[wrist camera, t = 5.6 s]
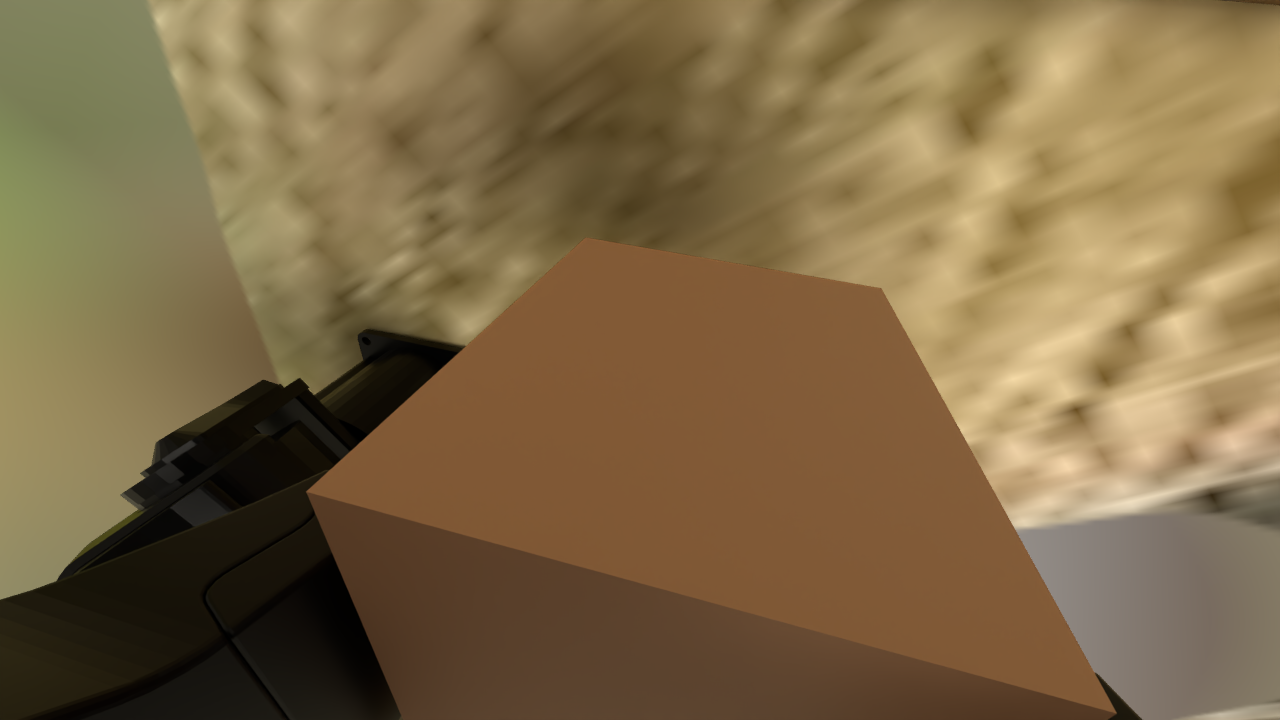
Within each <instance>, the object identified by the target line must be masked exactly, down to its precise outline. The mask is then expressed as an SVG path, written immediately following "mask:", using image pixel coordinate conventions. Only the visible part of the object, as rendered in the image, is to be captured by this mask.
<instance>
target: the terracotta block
mask: <svg viewBox="0 0 1280 720" xmlns="http://www.w3.org/2000/svg"><path fill="white" fill-rule="evenodd" d="M306 493H307V495H308V497H309V500H310V502H311V504H312V507H313V509H314V511H315V514H316V516H317V518H318V521H319V523H320V525H321V528H322V530H323V532H324V535H325V537H326V540H327V542H328V544H329V547H330V549H331V551H332V554H333V556H334V558H335V561H336V563H337V565H338V568H339V570H340V572H341V575H342V577H343V580H344V582H345V584H346V587H347V589H348V591H349V594H350V596H351V598H352V601H353V603H354V605H355V608H356V610H357V612H358V615H359V617H360V619H361V622H362V624H363V627H364V629H365V631H366V634H367V636H368V638H369V641H370V643H371V645H372V648H373V650H374V652H375V655H376V657H377V659H378V662H379V664H380V667H381V669H382V671H383V674H384V676H385V678H386V681H387V683H388V685H389V688H390V690H391V692H392V695H393V697H394V699H395V702H396V704H397V706H398V709H399V711H400V714H401V716H402V718H403V720H1108V719H1109V718H1111V717H1112V716H1114V715H1116V714H1117V713H1116V711H1115V709H1114V707H1113V705H1112V704H1111V702H1110V700H1109V698H1108V696H1107V695H1106V693H1105V691H1104V689H1103V687H1102V686H1101V684H1100V682H1099V680H1098V678H1097V677H1096V675H1095V673H1094V671H1093V670H1092V668H1091V666H1090V664H1089V662H1088V660H1087V659H1086V657H1085V655H1084V653H1083V651H1082V650H1081V648H1080V646H1079V644H1078V642H1077V641H1076V639H1075V637H1074V635H1073V633H1072V631H1071V630H1070V628H1069V626H1068V624H1067V623H1066V621H1065V619H1064V617H1063V615H1062V614H1061V612H1060V610H1059V608H1058V606H1057V604H1056V603H1055V601H1054V599H1053V597H1052V596H1051V594H1050V592H1049V590H1048V588H1047V586H1046V585H1045V583H1044V581H1043V579H1042V578H1041V576H1040V574H1039V572H1038V570H1037V568H1036V567H1035V565H1034V563H1033V561H1032V559H1031V558H1030V556H1029V554H1028V552H1027V550H1026V549H1025V547H1024V545H1023V543H1022V541H1021V540H1020V538H1019V536H1018V534H1017V532H1016V530H1015V529H1014V527H1013V525H1012V523H1011V521H1010V520H1009V518H1008V516H1007V514H1006V512H1005V511H1004V509H1003V507H1002V505H1001V503H1000V502H999V500H998V498H997V496H996V494H995V493H994V491H993V489H992V487H991V485H990V484H989V482H988V480H987V478H986V476H985V475H984V473H983V471H982V469H981V467H980V466H979V464H978V462H977V460H976V458H975V457H974V455H973V453H972V451H971V449H970V447H969V446H968V444H967V442H966V440H965V438H964V437H963V435H962V433H961V431H960V429H959V428H958V426H957V424H956V422H955V420H954V419H953V417H952V415H951V413H950V411H949V410H948V408H947V406H946V404H945V402H944V401H943V399H942V397H941V395H940V393H939V392H938V390H937V388H936V386H935V384H934V383H933V381H932V379H931V377H930V375H929V374H928V372H927V370H926V368H925V366H924V365H923V363H922V361H921V359H920V357H919V355H918V354H917V352H916V350H915V348H914V346H913V345H912V343H911V341H910V339H909V337H908V336H907V334H906V332H905V330H904V328H903V327H902V325H901V323H900V321H899V319H898V318H897V316H896V314H895V312H894V310H893V309H892V307H891V305H890V303H889V301H888V300H887V298H886V296H885V294H884V292H883V291H882V289H881V288H876V287H870V286H864V285H859V284H853V283H847V282H841V281H835V280H830V279H824V278H818V277H812V276H806V275H801V274H795V273H789V272H783V271H777V270H772V269H766V268H760V267H754V266H748V265H743V264H737V263H731V262H725V261H719V260H714V259H708V258H702V257H696V256H690V255H685V254H679V253H673V252H667V251H661V250H656V249H650V248H644V247H638V246H632V245H627V244H621V243H615V242H609V241H603V240H597V239H592V238H585V239H583V240H582V241H581V242H580V243H579V244H578V245H577V246H576V247H575V248H574V249H572V250H571V251H570V252H569V253H568V254H567V255H566V256H565V257H564V258H563V259H561V260H560V261H559V262H558V263H557V264H556V265H555V266H554V267H553V268H552V269H550V270H549V271H548V272H547V273H546V274H545V275H544V276H543V277H542V278H541V279H539V280H538V281H537V282H536V283H535V284H534V285H533V286H532V287H531V288H530V289H528V290H527V291H526V292H525V293H524V294H523V295H522V296H521V297H520V298H519V299H517V300H516V301H515V302H514V303H513V304H512V305H511V306H510V307H509V308H508V309H506V310H505V311H504V312H503V313H502V314H501V315H500V316H499V317H498V318H497V319H495V320H494V321H493V322H492V323H491V324H490V325H489V326H488V327H487V328H486V329H485V330H483V331H482V332H481V333H480V334H479V335H478V336H477V337H476V338H475V339H474V340H472V341H471V342H470V343H469V344H468V345H467V346H466V347H465V348H464V349H463V350H461V351H460V352H459V353H458V354H457V355H456V356H455V357H454V358H453V359H452V360H450V361H449V362H448V363H447V364H446V365H445V366H444V367H443V368H442V369H441V370H439V371H438V372H437V373H436V374H435V375H434V376H433V377H432V378H431V379H430V380H428V381H427V382H426V383H425V384H424V385H423V386H422V387H421V388H420V389H419V390H417V391H416V392H415V393H414V394H413V395H412V396H411V397H410V398H409V399H408V400H406V401H405V402H404V403H403V404H402V405H401V406H400V407H399V408H398V409H397V410H395V411H394V412H393V413H392V414H391V415H390V416H389V417H388V418H387V419H386V420H384V421H383V422H382V423H381V424H380V425H379V426H378V427H377V428H376V429H375V430H374V431H372V432H371V433H370V434H369V435H368V436H367V437H366V438H365V439H364V440H363V441H361V442H360V443H359V444H358V445H357V446H356V447H355V448H354V449H353V450H352V451H350V452H349V453H348V454H347V455H346V456H345V457H344V458H343V459H342V460H341V461H339V462H338V463H337V464H336V465H335V466H334V467H333V468H332V469H331V470H330V471H328V472H327V473H326V474H325V475H324V476H323V477H322V478H321V479H320V480H319V481H317V482H316V483H315V484H314V485H313V486H312V487H311V488H310V489H309V490H308V491H306Z"/></svg>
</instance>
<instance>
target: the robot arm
mask: <svg viewBox="0 0 1280 720" xmlns="http://www.w3.org/2000/svg"><path fill="white" fill-rule="evenodd" d="M358 342H359V345H360V349H361V353H362V357H363V361H362V362H361V363H359V364H358V365H356V366H355V367H353V368H352V369H351V370H349V371H348V372H346V373H345V374H344V375H342V376H341V377H339V378H338V379H337V380H335V381H334V382H332V383H331V384H330V385H328V386H327V387H325V388H324V389H323V390H321V391H320V392H318V393H317V394H316V395H313V394H312V393H311V392H310V391H309V390H308V388H309V386H308V385H307V384H306V383H305V382H304V381H303V380H302V379H301V378H299V379H297V380H295V381H294V382H292V383H291V384H289V385H288V386H286V387H285V388H284V387H283V386H282V385H281V384H279V385H278V384H275V383H272V382H269V381H266V380H262V381H261V382H259V383H257V384H255V385H254V386H252V387H250V388H249V389H247V390H245V391H244V392H242V393H240V394H239V395H237V396H236V397H234V398H232V399H230V400H229V401H227V402H226V403H224V404H222V405H220V406H218V407H217V408H215V409H213V410H212V411H210V412H208V413H206V414H204V415H202V416H201V417H199V418H197V419H195V420H193V421H192V422H190V423H188V424H186V425H184V426H183V427H181V428H179V429H177V430H176V431H174V432H172V433H170V434H169V435H167V436H165V437H164V438H162V439H161V440H159V441H158V442H156V444H155V449H154V455H153V460H152V465H151V466H150V467H149V468H147V469H146V470H145V471H143V472H141V473H140V474H141V475H143V476H144V477H145V479H143V480H142V481H140V482H139V483H137V484H136V485H134V486H133V487H131V488H130V489H128V490H127V491H125V492H124V493H122V494H121V496H122V497H123V498H125V499H126V500H127V501H128V502H130V503H131V504H133V505H134V506H135V507H136V508H138V510H137V511H135V512H134V513H132V514H131V515H130V516H128V517H127V518H125V519H124V520H122V521H121V522H119V523H118V524H116V525H115V526H114V527H112V528H111V529H109V530H108V531H106V532H105V533H103V534H102V535H101V536H99V537H98V538H96V539H95V540H93V541H92V542H91V543H89V544H88V545H87V546H86V547H85V548H84V549H83V550H82V551H81V552H80V553H79V554H78V555H77V557H75V558H74V559H73V560H72V562H71V563H70V564H69V565H68V566H67V567H66V568H65V569H64V571H63V572H62V573H61V575H60V576H59V578H58V580H57V581H56V582H53V583H50V584H47V585H45V586H42V587H40V588H36V589H34V590H31V591H27V592H24V593H21V594H18V595H14V596H11V597H8V598H4V599H1V600H0V720H399V719H400V717H401V714H400V711H399V709H398V706H397V704H396V702H395V699H394V697H393V695H392V692H391V690H390V688H389V685H388V683H387V681H386V678H385V676H384V674H383V671H382V669H381V667H380V664H379V662H378V659H377V657H376V655H375V652H374V650H373V648H372V645H371V643H370V641H369V638H368V636H367V634H366V631H365V629H364V627H363V624H362V622H361V619H360V617H359V615H358V612H357V610H356V608H355V605H354V603H353V601H352V598H351V596H350V594H349V591H348V589H347V587H346V584H345V582H344V580H343V577H342V575H341V572H340V570H339V568H338V565H337V563H336V561H335V558H334V556H333V554H332V551H331V549H330V547H329V544H328V542H327V540H326V537H325V535H324V532H323V530H322V528H321V525H320V523H319V521H318V518H317V516H316V514H315V511H314V509H313V507H312V504H311V502H310V500H309V497H308V495H307V493H306V491H308V490H309V489H310V488H311V487H312V486H313V485H314V484H315V483H316V482H317V481H319V480H320V479H321V478H322V477H323V476H324V475H325V474H326V473H327V472H328V471H330V470H331V469H332V468H333V467H334V466H335V465H336V464H337V463H338V462H339V461H341V460H342V459H343V458H344V457H345V456H346V455H347V454H348V453H349V452H350V451H352V450H353V449H354V448H355V447H356V446H357V445H358V444H359V443H360V442H361V441H363V440H364V439H365V438H366V437H367V436H368V435H369V434H370V433H371V432H372V431H374V430H375V429H376V428H377V427H378V426H379V425H380V424H381V423H382V422H383V421H384V420H386V419H387V418H388V417H389V416H390V415H391V414H392V413H393V412H394V411H395V410H397V409H398V408H399V407H400V406H401V405H402V404H403V403H404V402H405V401H406V400H408V399H409V398H410V397H411V396H412V395H413V394H414V393H415V392H416V391H417V390H419V389H420V388H421V387H422V386H423V385H424V384H425V383H426V382H427V381H428V380H430V379H431V378H432V377H433V376H434V375H435V374H436V373H437V372H438V371H439V370H441V369H442V368H443V367H444V366H445V365H446V364H447V363H448V362H449V361H450V360H452V359H453V358H454V357H455V356H456V355H457V354H458V353H459V352H460V351H461V350H463V349H462V348H457V347H452V346H448V345H443V344H438V343H433V342H428V341H424V340H419V339H414V338H409V337H404V336H399V335H395V334H390V333H385V332H380V331H375V330H371V329H366V330H364V331H363V332H361V333H360V334H359V335H358ZM1094 673H1095V672H1094ZM1095 675H1096V677H1097V678H1098V680H1099V682H1100V684H1101V686H1102V687H1103V689H1104V691H1105V693H1106V695H1107V696H1108V698H1109V700H1110V702H1111V704H1112V705H1113V707H1114V709H1115V711H1116V713H1117V714H1116V715H1114V716H1112V717H1111V718H1109V719H1108V720H1142V719H1141V718H1140V717H1139V716H1138V715H1137V714H1136V713H1135V712H1134V711H1133V710H1132V709H1131V708H1130V707H1129V706H1128V705H1127V704H1126V703H1125V702H1124V700H1123V699H1121V697H1120V696H1119V695H1118V694H1117V693H1116V692H1115V691H1114V690H1113V689H1112V688H1111V687H1110V686H1109V685H1108V684H1107V683H1106V682H1105V681H1104V680H1103V679H1102V678H1101V677H1100V676H1099V675H1098V674H1097V673H1095Z"/></svg>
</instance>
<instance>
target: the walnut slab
mask: <svg viewBox="0 0 1280 720" xmlns="http://www.w3.org/2000/svg"><path fill="white" fill-rule="evenodd" d="M1223 1H1236V2H1248V3H1261V4H1274V5H1280V0H1223Z"/></svg>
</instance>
